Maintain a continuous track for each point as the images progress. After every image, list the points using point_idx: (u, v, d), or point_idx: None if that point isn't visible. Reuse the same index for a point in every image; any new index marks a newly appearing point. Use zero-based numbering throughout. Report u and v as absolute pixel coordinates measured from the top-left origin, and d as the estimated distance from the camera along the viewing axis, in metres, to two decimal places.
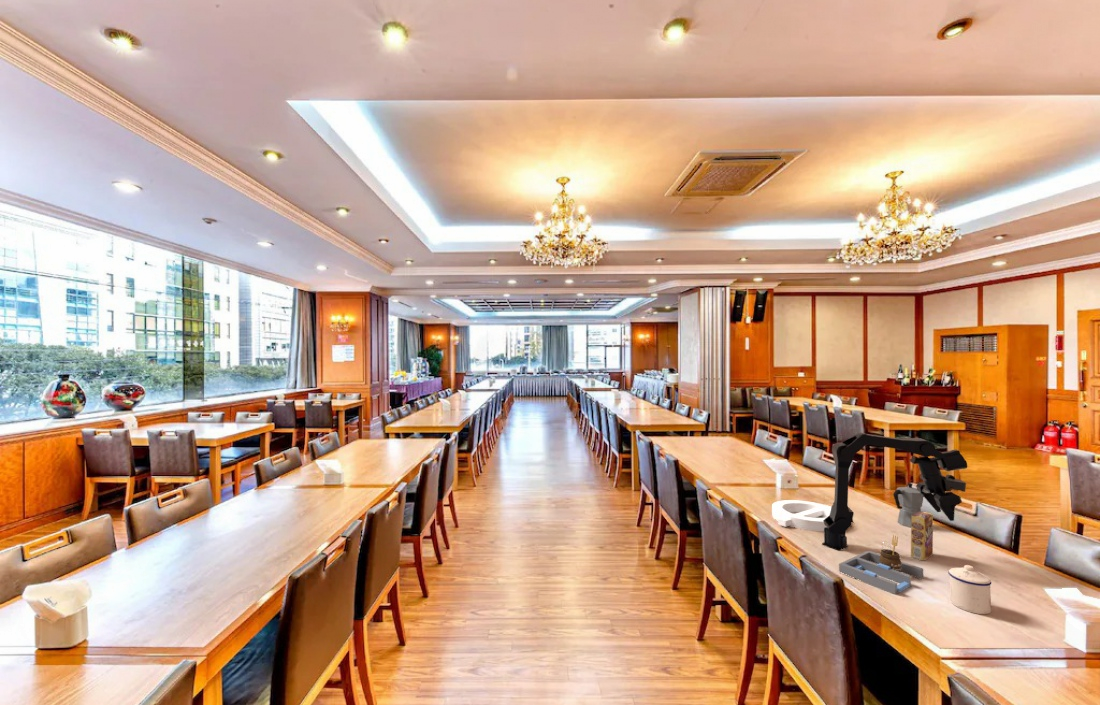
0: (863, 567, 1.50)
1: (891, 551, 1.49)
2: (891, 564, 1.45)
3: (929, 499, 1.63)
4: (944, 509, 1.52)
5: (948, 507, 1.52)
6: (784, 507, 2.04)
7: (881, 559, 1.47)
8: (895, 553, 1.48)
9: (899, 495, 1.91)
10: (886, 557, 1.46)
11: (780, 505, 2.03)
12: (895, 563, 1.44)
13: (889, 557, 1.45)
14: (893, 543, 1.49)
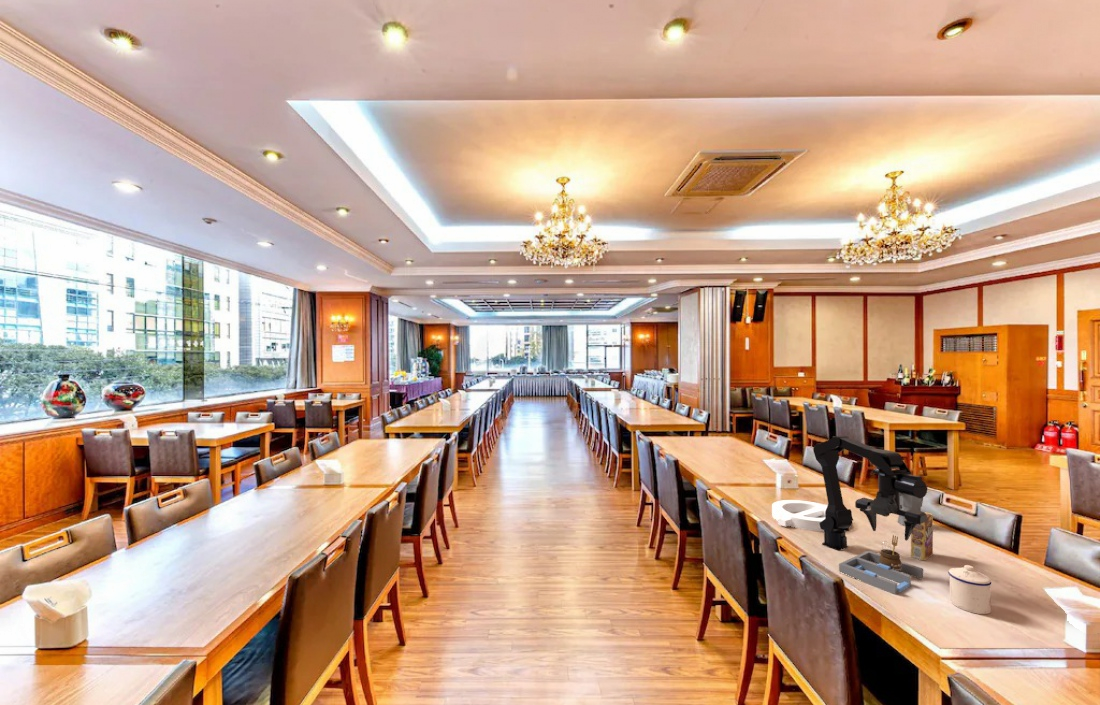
0: (863, 567, 1.50)
1: (891, 551, 1.49)
2: (891, 564, 1.45)
3: None
4: None
5: None
6: (784, 507, 2.04)
7: (881, 559, 1.47)
8: (895, 553, 1.48)
9: None
10: (886, 557, 1.46)
11: (780, 505, 2.03)
12: (895, 563, 1.44)
13: (889, 557, 1.45)
14: (893, 543, 1.49)
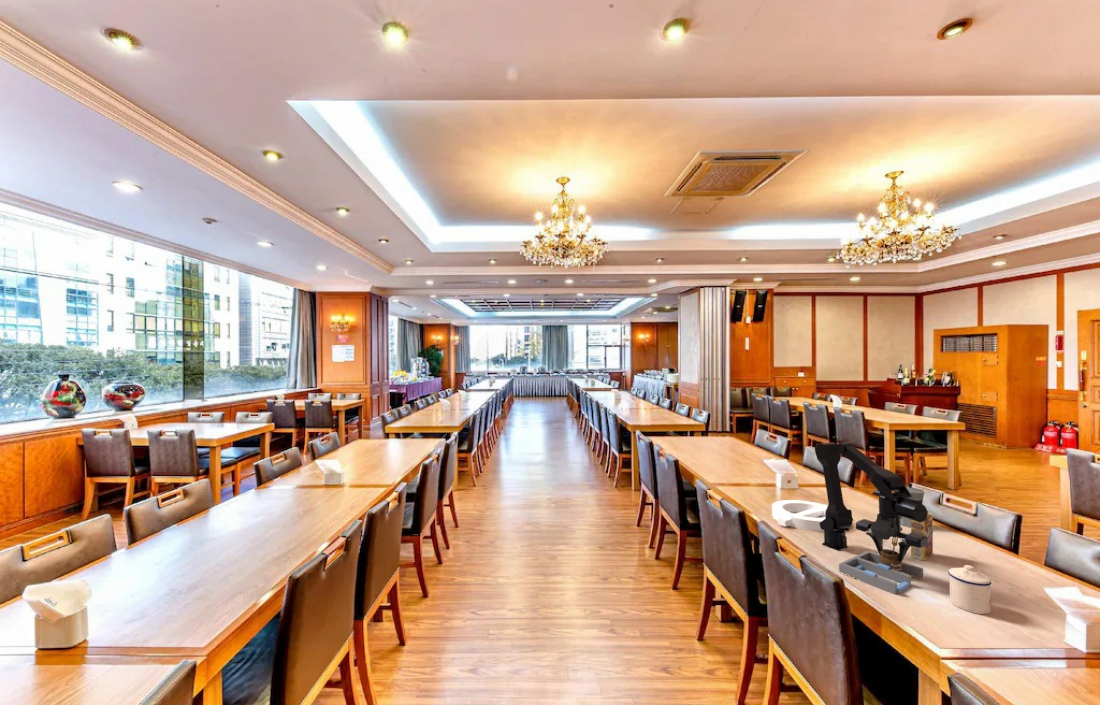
0: (863, 567, 1.50)
1: (891, 551, 1.49)
2: (891, 564, 1.45)
3: None
4: None
5: None
6: (784, 507, 2.04)
7: (881, 559, 1.47)
8: (895, 553, 1.48)
9: None
10: (886, 557, 1.46)
11: (780, 505, 2.03)
12: (895, 563, 1.44)
13: (889, 557, 1.45)
14: (893, 543, 1.49)
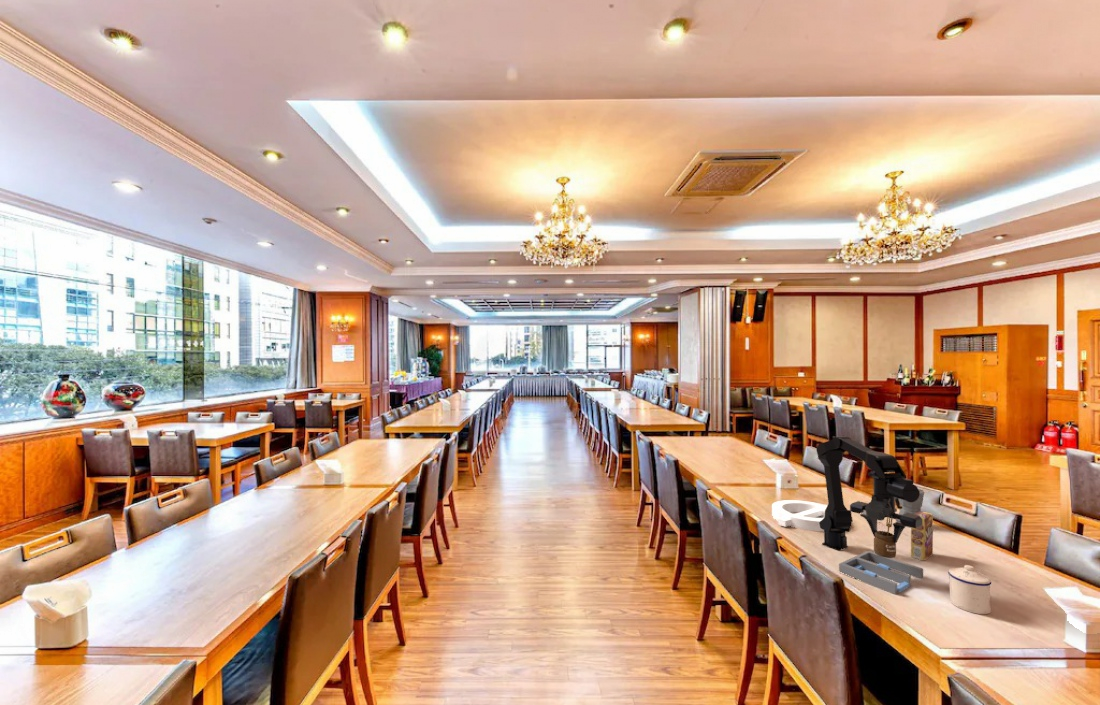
0: (863, 567, 1.50)
1: (885, 532, 1.47)
2: (886, 545, 1.43)
3: None
4: None
5: None
6: (784, 507, 2.04)
7: (875, 540, 1.46)
8: (889, 534, 1.46)
9: None
10: (881, 538, 1.44)
11: (780, 505, 2.03)
12: (889, 545, 1.43)
13: (884, 538, 1.44)
14: (887, 524, 1.47)
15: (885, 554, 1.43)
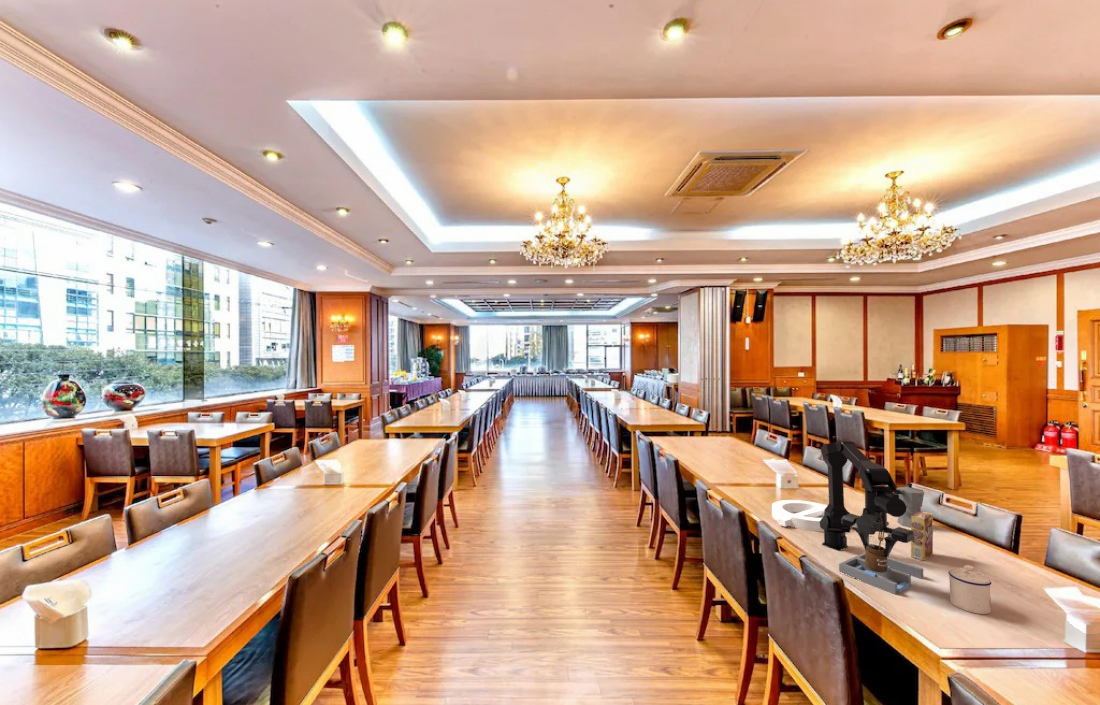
0: (863, 567, 1.50)
1: (877, 546, 1.45)
2: (877, 559, 1.40)
3: None
4: None
5: None
6: (784, 507, 2.04)
7: (867, 554, 1.43)
8: (881, 548, 1.43)
9: (899, 495, 1.91)
10: (872, 552, 1.42)
11: (780, 505, 2.03)
12: (881, 559, 1.40)
13: (875, 552, 1.41)
14: (879, 538, 1.44)
15: (876, 568, 1.41)
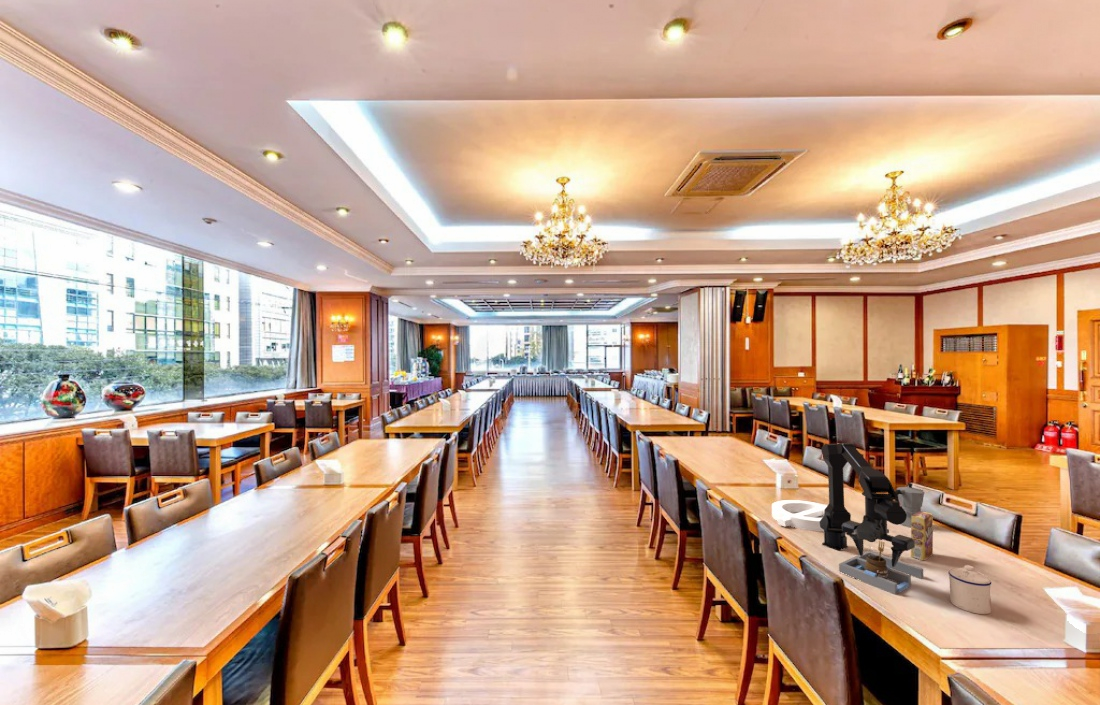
0: (863, 567, 1.50)
1: (877, 557, 1.44)
2: (877, 570, 1.40)
3: None
4: None
5: None
6: (784, 507, 2.04)
7: (867, 565, 1.43)
8: (881, 559, 1.43)
9: (899, 495, 1.91)
10: (872, 563, 1.42)
11: (780, 505, 2.03)
12: (881, 570, 1.40)
13: (875, 563, 1.41)
14: (879, 549, 1.44)
15: None
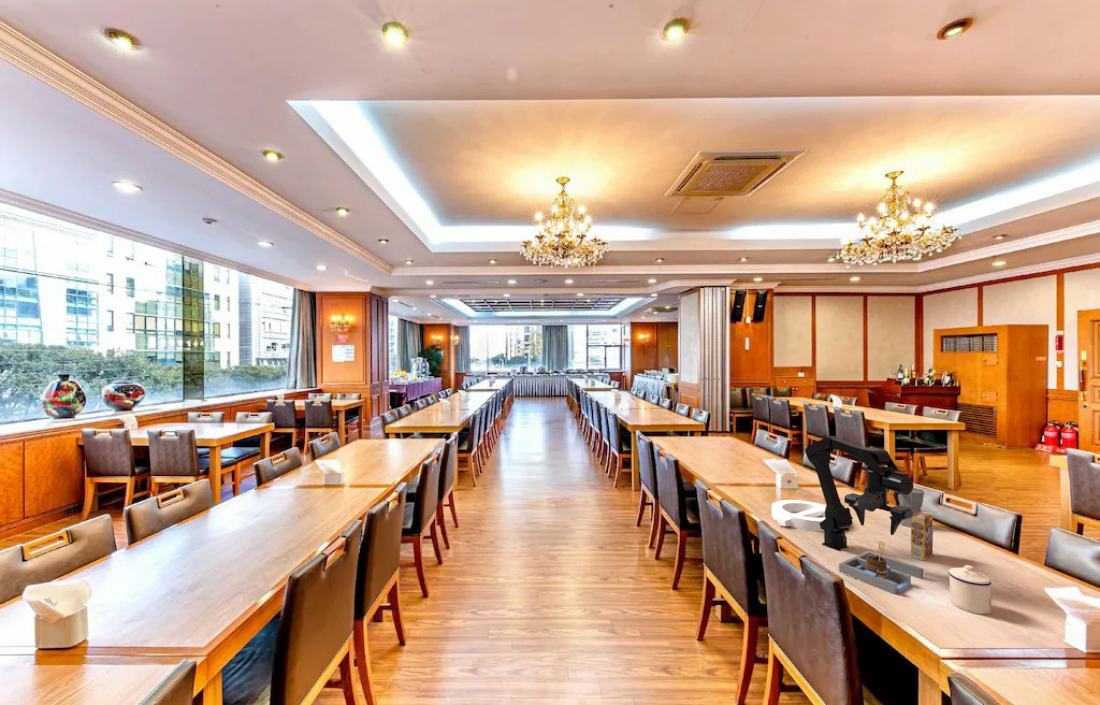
0: (863, 567, 1.50)
1: (877, 557, 1.44)
2: (877, 570, 1.40)
3: None
4: None
5: None
6: (784, 507, 2.04)
7: (867, 565, 1.43)
8: (881, 559, 1.43)
9: (899, 495, 1.91)
10: (872, 563, 1.42)
11: (780, 505, 2.03)
12: (881, 570, 1.40)
13: (875, 563, 1.41)
14: (879, 549, 1.44)
15: None
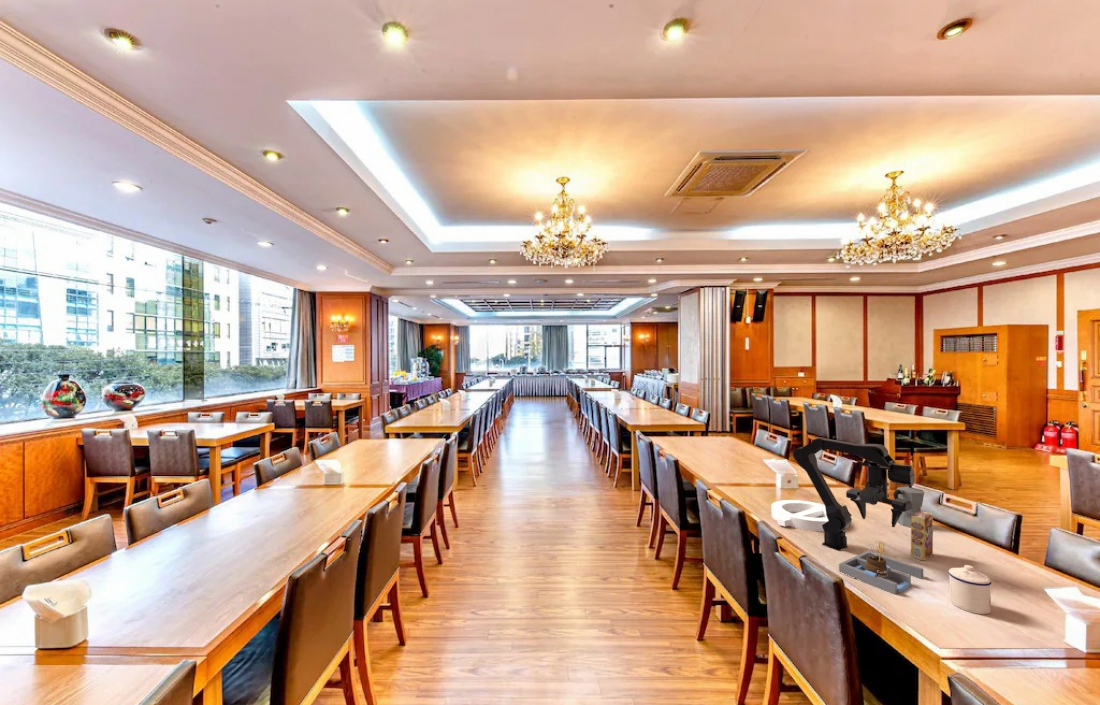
0: (863, 567, 1.50)
1: (877, 557, 1.44)
2: (877, 570, 1.40)
3: None
4: None
5: None
6: (784, 507, 2.04)
7: (867, 565, 1.43)
8: (881, 559, 1.43)
9: (899, 495, 1.91)
10: (872, 563, 1.42)
11: (780, 505, 2.03)
12: (881, 570, 1.40)
13: (875, 563, 1.41)
14: (879, 549, 1.44)
15: None
